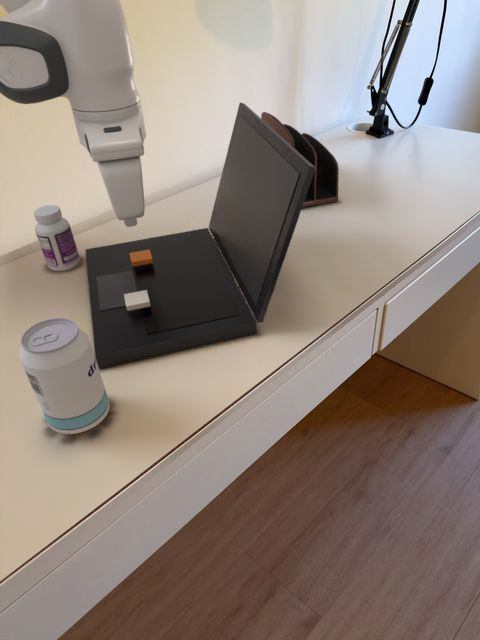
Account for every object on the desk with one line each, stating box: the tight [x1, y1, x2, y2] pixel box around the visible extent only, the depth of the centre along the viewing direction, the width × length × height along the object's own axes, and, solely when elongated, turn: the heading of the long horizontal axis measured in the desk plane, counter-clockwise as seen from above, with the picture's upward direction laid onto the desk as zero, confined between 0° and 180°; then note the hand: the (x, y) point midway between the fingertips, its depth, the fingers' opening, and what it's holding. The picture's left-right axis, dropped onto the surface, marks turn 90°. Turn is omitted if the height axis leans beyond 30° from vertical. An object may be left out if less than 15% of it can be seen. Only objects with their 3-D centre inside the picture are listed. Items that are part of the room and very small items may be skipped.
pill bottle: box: [33, 204, 81, 272], centre depth 85 cm, size 5×5×10 cm
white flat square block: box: [124, 290, 151, 311], centre depth 73 cm, size 3×3×1 cm
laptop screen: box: [207, 102, 316, 323], centre depth 76 cm, size 21×30×1 cm
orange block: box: [129, 249, 153, 267], centre depth 82 cm, size 3×3×1 cm
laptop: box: [85, 227, 258, 370], centre depth 79 cm, size 21×30×2 cm
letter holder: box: [260, 111, 340, 209], centre depth 105 cm, size 10×20×14 cm, turn 16°
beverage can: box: [19, 317, 111, 435], centre depth 56 cm, size 7×7×12 cm
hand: (130, 222), depth 79 cm, fingers closed
